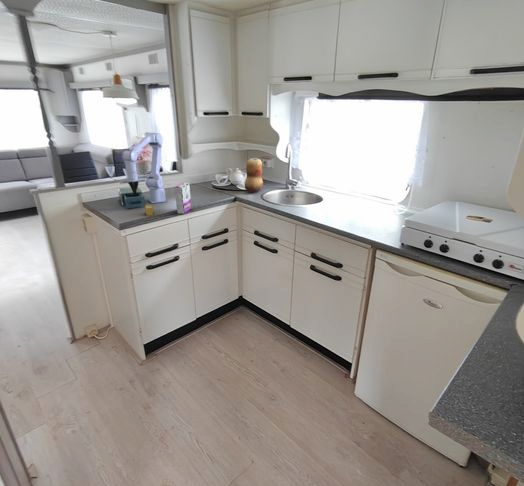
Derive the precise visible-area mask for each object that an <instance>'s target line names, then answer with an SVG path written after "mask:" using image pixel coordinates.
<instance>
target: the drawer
mask: <svg viewBox="0 0 524 486" xmlns="http://www.w3.org/2000/svg"><path fill="white" fill-rule="evenodd" d="M123 200H124V203H125V206H124V207H125V209H132V208H133V209H134V208H140V207H145V206H146V202H145V196H144V195H143V194H142V195H141V194H140V193H136V195H134V194H124V195H123Z"/></svg>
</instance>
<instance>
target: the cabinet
mask: <svg viewBox="0 0 524 486" xmlns="http://www.w3.org/2000/svg"><path fill="white" fill-rule="evenodd" d="M117 193H118V199H119V202H120V204H121V205H122V206H123V207H125V203H124V200H123V195H124V194H133V191H132V189H131V187H130V186H129V187H121V188H120V187H119V188H117ZM136 193H140V194H141V195H142V196H143V191H142V190H141V188H139V186H138V187H137V191H136Z"/></svg>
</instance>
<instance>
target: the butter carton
mask: <svg viewBox="0 0 524 486" xmlns="http://www.w3.org/2000/svg"><path fill="white" fill-rule="evenodd" d="M144 213H145V215H146V216H147V217H151V216H154V211H153V206H151V205H145V206H144Z"/></svg>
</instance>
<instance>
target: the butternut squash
mask: <svg viewBox="0 0 524 486" xmlns="http://www.w3.org/2000/svg"><path fill="white" fill-rule="evenodd" d="M245 171H246V172H245V173H246V178H245V181H244V189H245V190H246V192H248V193H253V194H255V193H259V192H260V191H261V190H262V189H263V187H264V181H263V178H262V175H263V162H262V160H261V159H259V158H257V157H255V158H254V157H251V158H249V159H248V160H247V161H246V166H245Z"/></svg>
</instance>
